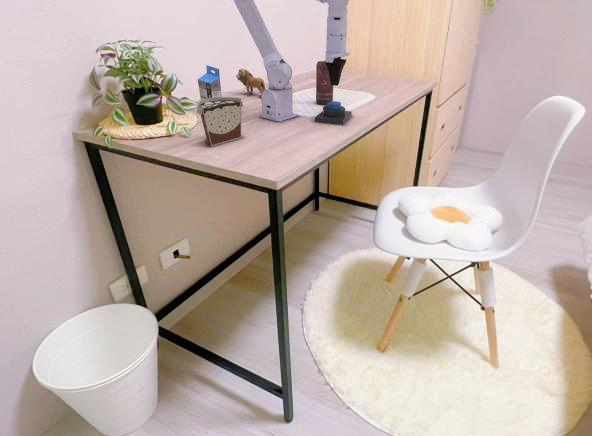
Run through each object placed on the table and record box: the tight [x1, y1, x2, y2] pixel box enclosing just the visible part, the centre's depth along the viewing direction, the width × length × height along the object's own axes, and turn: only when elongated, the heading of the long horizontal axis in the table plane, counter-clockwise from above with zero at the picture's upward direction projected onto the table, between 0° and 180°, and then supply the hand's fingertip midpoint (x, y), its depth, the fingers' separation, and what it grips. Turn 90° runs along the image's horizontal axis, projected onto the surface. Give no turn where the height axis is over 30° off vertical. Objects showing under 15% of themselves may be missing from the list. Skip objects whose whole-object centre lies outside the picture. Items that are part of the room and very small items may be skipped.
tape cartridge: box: [197, 64, 223, 101], centre depth 121 cm, size 9×4×12 cm, turn 44°
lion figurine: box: [235, 68, 267, 96], centre depth 138 cm, size 15×5×9 cm, turn 62°
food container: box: [196, 96, 244, 147], centre depth 94 cm, size 12×6×10 cm, turn 141°
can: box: [315, 60, 334, 106], centre depth 130 cm, size 6×6×14 cm
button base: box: [314, 105, 353, 126], centre depth 116 cm, size 11×9×4 cm
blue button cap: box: [328, 100, 342, 110], centre depth 114 cm, size 4×4×2 cm
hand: (334, 85), depth 112 cm, fingers closed
